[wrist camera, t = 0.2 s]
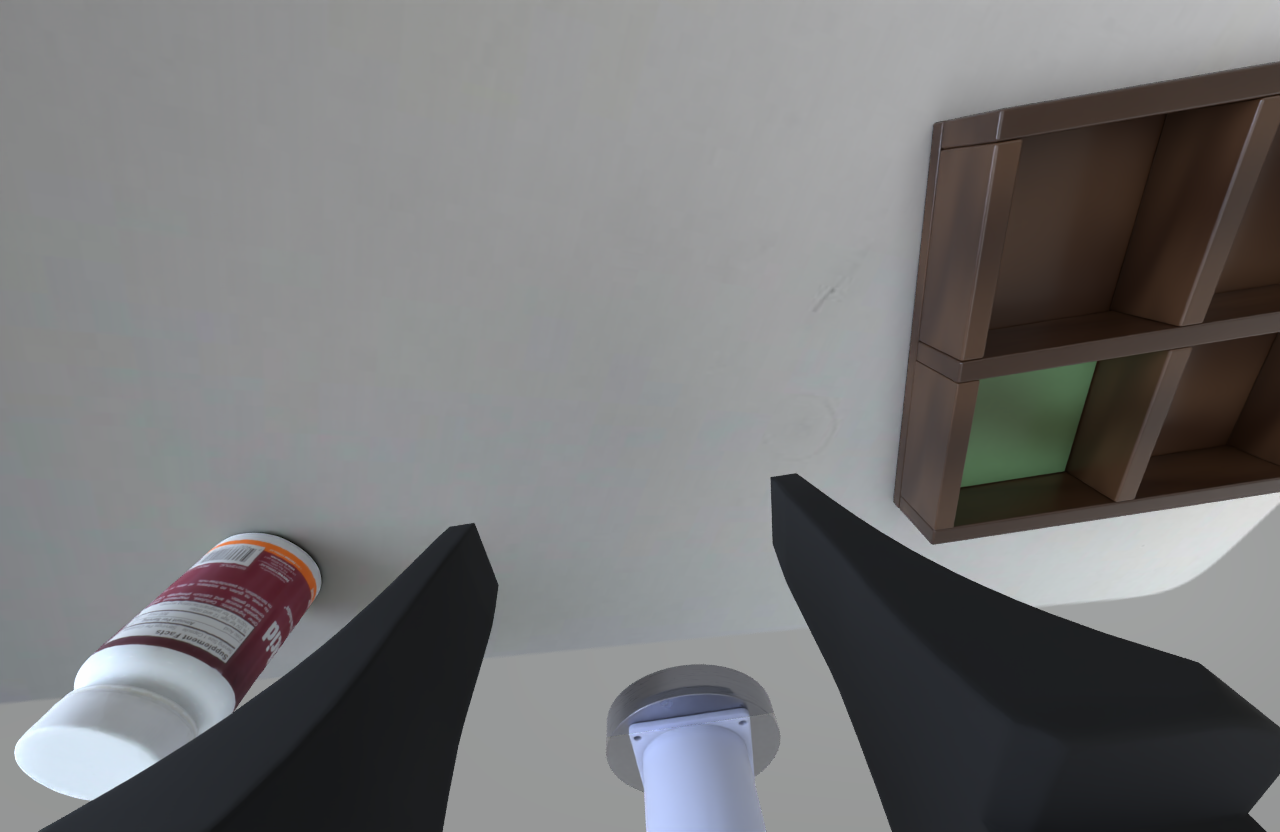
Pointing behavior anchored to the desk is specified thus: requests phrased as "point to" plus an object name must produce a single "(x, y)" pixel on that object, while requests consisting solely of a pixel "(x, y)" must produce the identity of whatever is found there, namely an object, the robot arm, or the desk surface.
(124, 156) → the desk surface
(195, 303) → the desk surface
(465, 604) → the robot arm
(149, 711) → the pill bottle
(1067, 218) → the tray
